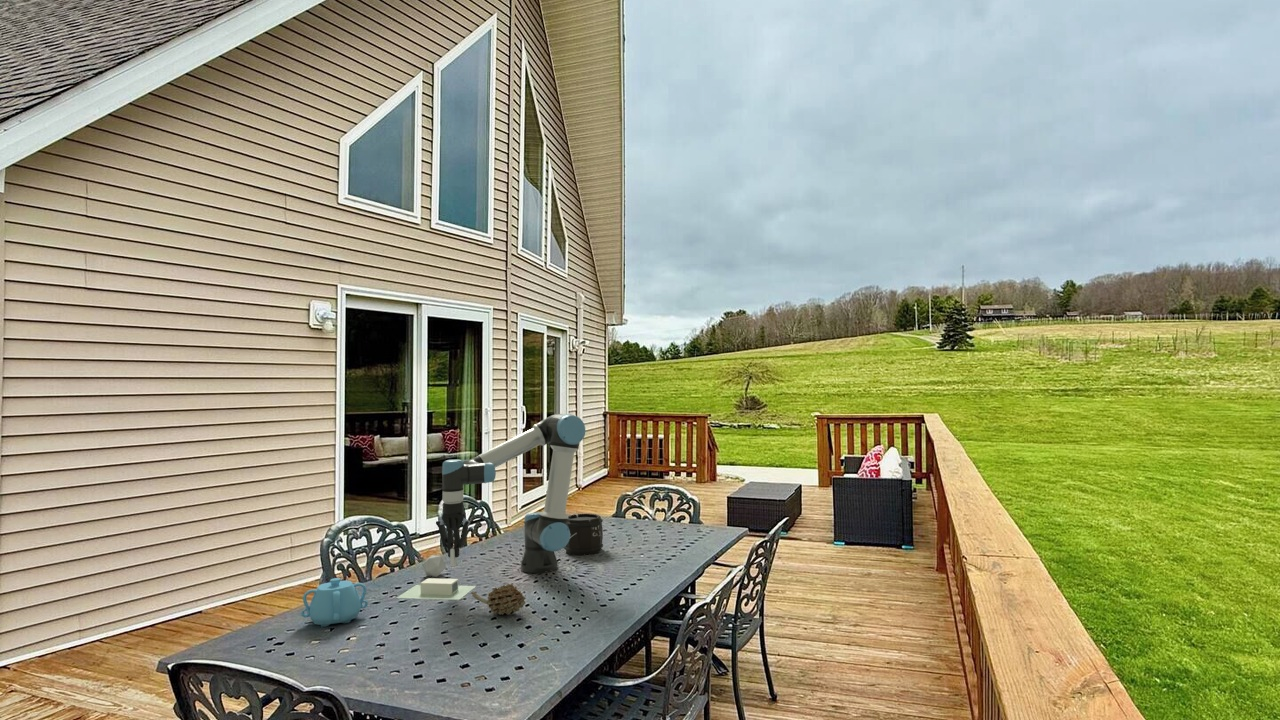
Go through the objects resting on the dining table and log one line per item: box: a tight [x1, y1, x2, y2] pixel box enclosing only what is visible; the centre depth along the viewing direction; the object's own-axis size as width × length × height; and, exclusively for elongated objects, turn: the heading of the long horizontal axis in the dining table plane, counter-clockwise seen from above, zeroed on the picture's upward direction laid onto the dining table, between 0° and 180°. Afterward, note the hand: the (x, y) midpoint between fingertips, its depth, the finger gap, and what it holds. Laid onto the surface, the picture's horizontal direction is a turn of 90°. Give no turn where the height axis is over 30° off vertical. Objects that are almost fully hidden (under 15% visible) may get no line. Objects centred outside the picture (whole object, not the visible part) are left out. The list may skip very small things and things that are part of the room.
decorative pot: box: [300, 577, 369, 628], centre depth 218 cm, size 16×16×14 cm
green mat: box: [395, 584, 477, 601], centre depth 246 cm, size 24×16×1 cm, turn 82°
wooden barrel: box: [563, 513, 604, 557], centre depth 303 cm, size 18×18×16 cm
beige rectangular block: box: [419, 577, 459, 595], centre depth 246 cm, size 4×6×12 cm
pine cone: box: [471, 583, 526, 616], centre depth 222 cm, size 22×10×10 cm, turn 68°
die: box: [421, 554, 447, 578], centre depth 268 cm, size 8×9×10 cm
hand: (453, 565), depth 246 cm, fingers closed
